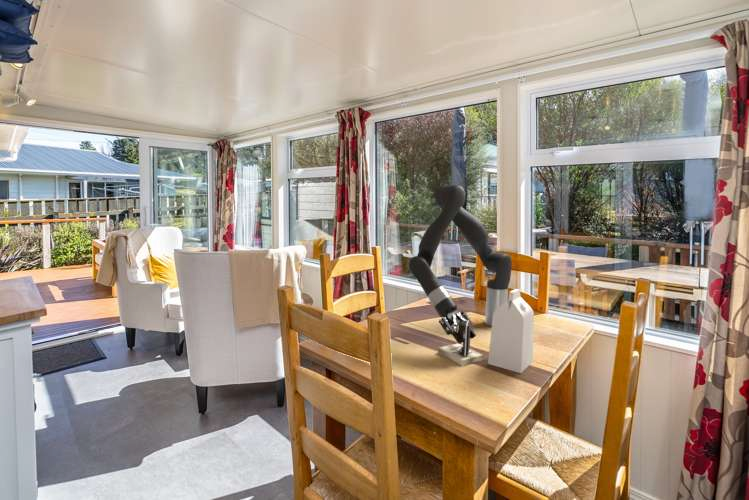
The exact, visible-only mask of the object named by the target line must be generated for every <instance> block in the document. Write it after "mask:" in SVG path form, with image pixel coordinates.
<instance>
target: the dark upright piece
mask: <svg viewBox="0 0 749 500" xmlns="http://www.w3.org/2000/svg"><path fill="white" fill-rule="evenodd" d="M471 321H472V320H471ZM471 321H467V320H466V321H465V320H463V321H461V323H460V325H459V326H458V328H457V332H459V334H460V335H461V337H462V338H463V340H464V341H463V342H462V345H463V347H461V348H460V351H459V354H460V355H464V356H468V353H469V350H470V349H471V338H470V333H471V328H472V324H471Z"/></svg>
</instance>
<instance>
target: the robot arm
mask: <svg viewBox="0 0 749 500" xmlns="http://www.w3.org/2000/svg"><path fill="white" fill-rule="evenodd" d="M434 199H435V202H436V204H437V206H438V207H439V208H440V209H441V212H440V214H439V215H438V216H437V217H436V219H434V220H433V221H432V222H431V224H430V225H429V226H428V227H427V228H426V230H425V232H424V234H423V235H422V238H421V240H420V242H419V245H418V253H417V254H416V255H415V256H412V257H411V258H410V259H409V261H408V268H409V269H408V270H409V271H410V273H411V274H412V276H414V278H415V279H416V280H417V282H418V283H419V284H420V286H421V288H422V290H423V292H424V293H425V295H426V296H427V298H428V300H429V302H430V303H431V305H432V307H433V308H434V310H435V311H436V313H437V314H438V316H439V317H440V319H439V320H438V323H439V325H440V326H441V328H442V329H443V330H444V332H445V333H446V335H448V336H449V335H451V336H452V337H453V338H454V339H455V341H456V342H457V343H459V344H463V341H464V340H463V338H462V337H461V335H460V334H459V332H458V328H457V327H459V325H460V323H461V321H463V320H465V321H471V325H473V322H472V319H471V318H470V317H469V315H468V314H467V313H466V310H461V311H459V310H458V304H457V303H456V302H455V300H454V299H453V297H452V296H451V294H450V293H449V291H448V290H447V289H446V288H445V287H444V286H443V284H442V282H441V281H440V280H439V279H438V277H437V276H436V275H435V274H434V272H433V270H432V269H431V267H432V264H433V260H434V256H435V254H436V251H437V250H438V248H439V245H440V243H441V241H442V238H443V236H444V235H445V232H446V231H447V229H448V228H449V226H450V224H451V223H452V222H453V224H454V225H455V226H456V228H458V230H459V231H460V233H461V234H462V236H463V237H464V238H465V240H466V241H467V242H468V243H469V244H470V246H471V247H472V248H473V251H475V253H476V254H477V256H478V258H479V259H480V261H481V263H482V265H483V266H484V267H485V269H486V270H487V271H488V272H492V273H495V277H494V278H493V279H489V280H488V281H487V283H486V297H485V298H486V302H485V317H484V318H485V319H484V324H485V325H487V326H489V327H492V321H493V314H494V312H495V310H496V309H498V308H499V307H500V306H502V305H503V304H504V303H505V302H507V301H508V299H509V295H508V294H509V292H508V291H509V286H510V285H509V284H510V283H511V282H510V281H511V275H512V267H513V266H512V265H513V261H512V257H511V255H509V254H508V253H503V252H497V251H494V249H492V248H491V246H490V244H489V243H488V242H489V233H488V231H487V228H486V227H485V226H484V224H483V223H482V222H481V220H480V219H479V218H477V217H476V216H475V215H473V213H471V212H469V211H467V209H465V208H463V207H462V206H463V204H464V202H465V199H466V191H465V189H464V188H463V186H461V185H458V184H446V185H441V186H438V187H437V188H436V190H435V192H434ZM447 328H448V329H447ZM476 336H477V335H476V333H475V330H473V329H472V327H471V333H470V340H472V339H474V338H475V337H476Z"/></svg>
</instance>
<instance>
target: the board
mask: <svg viewBox="0 0 749 500" xmlns="http://www.w3.org/2000/svg"><path fill="white" fill-rule="evenodd" d="M461 347H463V343H461V344H459V343H458V342H457V343H453V344H449V345H444V346H440V347H437V349H438V351H437V353H438V354H440V355H442V356H444V357H445V358H447V359H448V360H451V361H452V362H454V363H456V364H458V365H460V366H461V367H463V366H467V365H470V364H475V363H479V362H482V361H484V357H485V356H484V354H482V353H480V352H478V351H477V350H475V349H473V348H470V350H469V353H468V356H464V355H460V354H459V351H460V348H461Z"/></svg>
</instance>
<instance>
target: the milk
mask: <svg viewBox="0 0 749 500" xmlns="http://www.w3.org/2000/svg"><path fill="white" fill-rule="evenodd" d="M508 294H509V295H508V298H507V302H505V303H504V304H503V305H502V306H500V307H499V308H498V309H496V310H495V312H494V314H493V321H492V326H491V331H490V342H489V351H488V360H487V364H488V365H491V366H494V367H498V368H502V369H505V370H509V371H512V372H516V373H519V374H522V373H523V372H524V371H525V370H526V369H527V368H528V367H529V366H531V364H532V363H533V361H534V325H535V324H534V321H535V318H534V316H535V313H534V310H533V309H532V307H531V306H530V305H529V303H528V302H526V301H525V300H524V299H523V297H521V290H520V289H518V288H515V289H512V290H511V291H509V292H508Z"/></svg>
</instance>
